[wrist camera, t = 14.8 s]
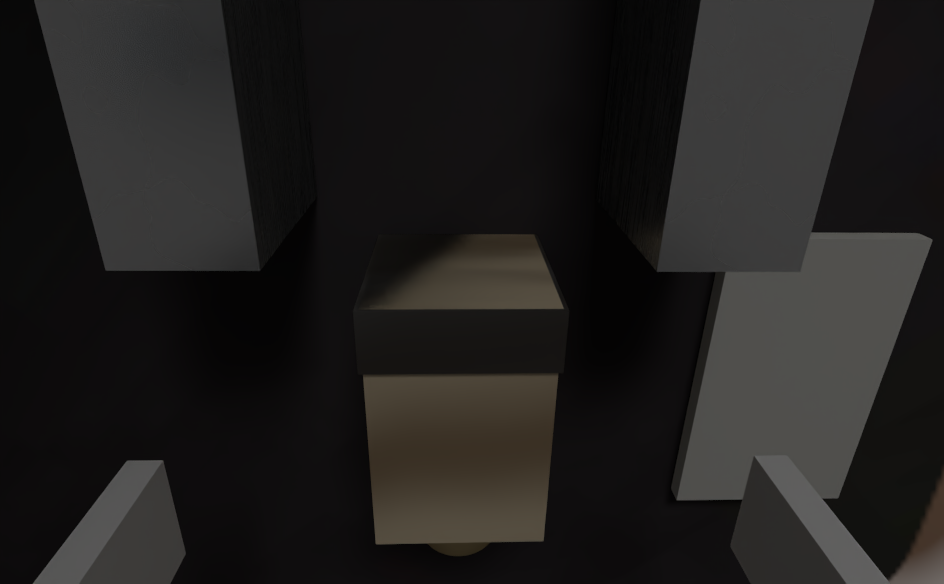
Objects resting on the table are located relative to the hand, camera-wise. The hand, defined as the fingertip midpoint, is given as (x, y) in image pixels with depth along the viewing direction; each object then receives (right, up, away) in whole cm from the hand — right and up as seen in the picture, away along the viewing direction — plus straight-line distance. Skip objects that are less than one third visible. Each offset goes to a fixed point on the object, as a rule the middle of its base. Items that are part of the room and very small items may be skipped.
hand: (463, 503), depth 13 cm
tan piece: (0, +3, +5) cm, 6 cm away
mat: (+11, +2, +6) cm, 13 cm away
